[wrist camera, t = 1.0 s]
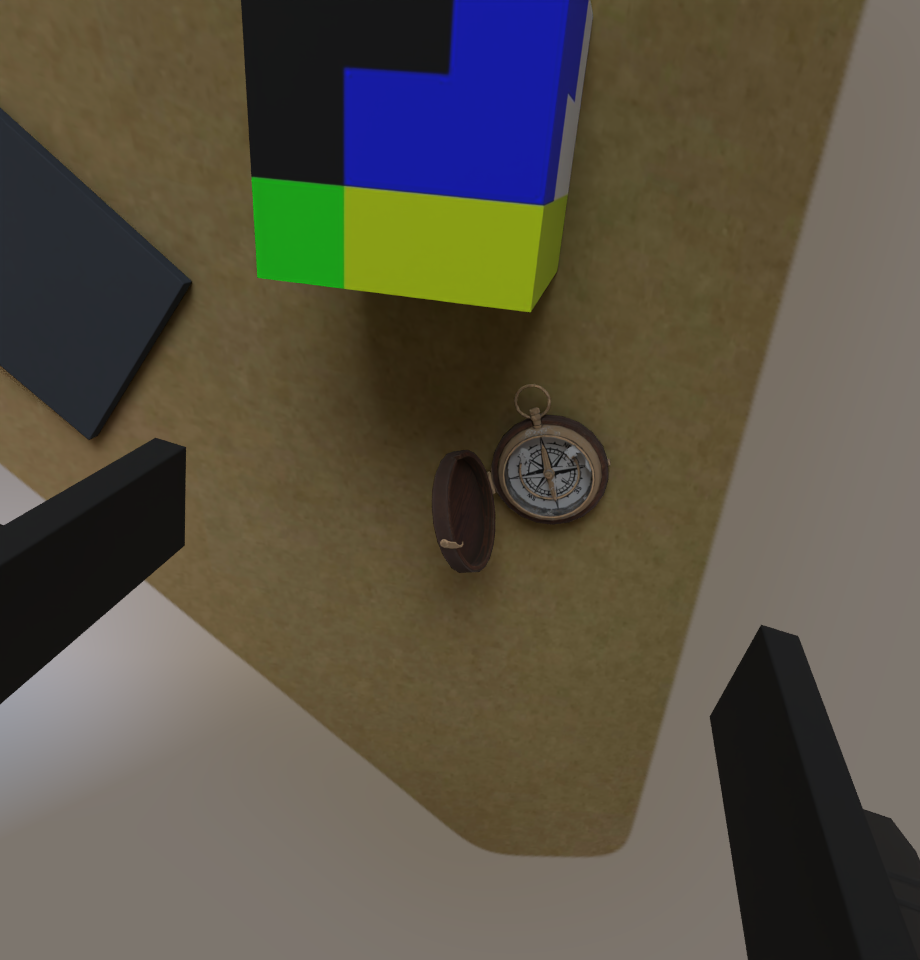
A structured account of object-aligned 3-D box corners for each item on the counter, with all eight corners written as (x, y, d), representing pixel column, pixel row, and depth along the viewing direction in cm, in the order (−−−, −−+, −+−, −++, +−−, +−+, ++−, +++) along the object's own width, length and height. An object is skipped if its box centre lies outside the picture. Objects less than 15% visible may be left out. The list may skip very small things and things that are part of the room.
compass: (620, 508, 35) (619, 584, 29) (480, 526, 38) (451, 600, 31) (593, 366, 32) (585, 416, 26) (444, 396, 35) (403, 448, 28)
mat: (-7, 100, 33) (-21, 99, 33) (192, 281, 35) (184, 283, 34) (-76, 289, 39) (-89, 291, 39) (98, 435, 41) (89, 440, 40)
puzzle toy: (593, 14, 26) (577, -63, 17) (557, 271, 31) (530, 312, 22) (358, 3, 28) (237, -73, 19) (356, 247, 32) (257, 277, 24)
